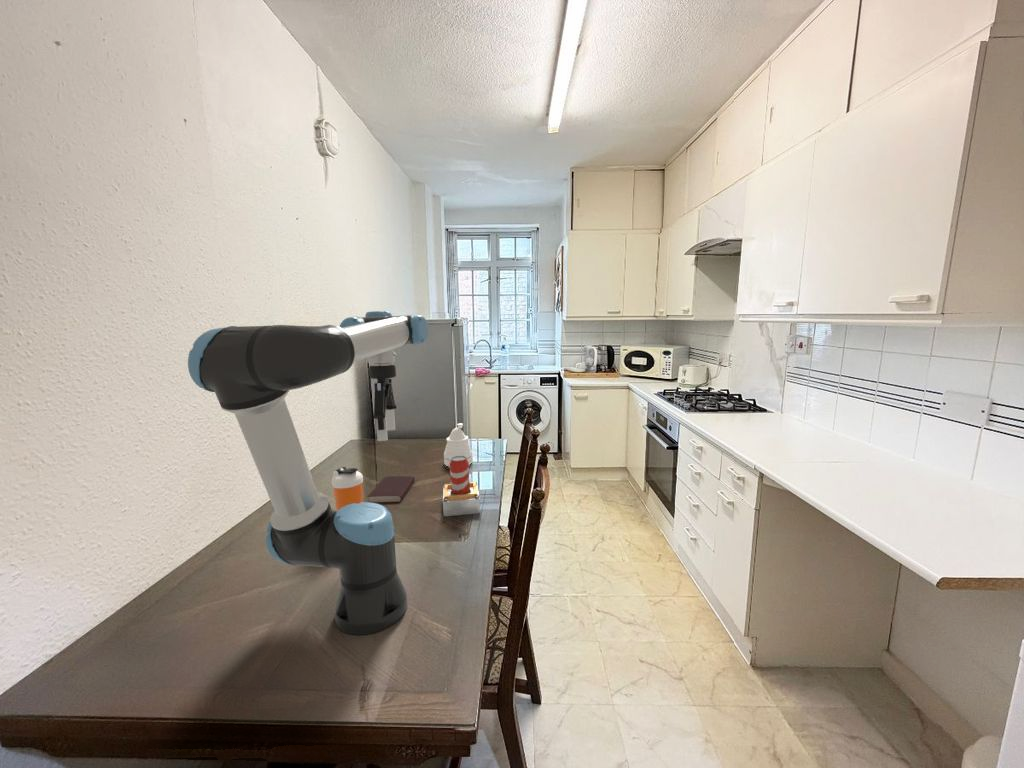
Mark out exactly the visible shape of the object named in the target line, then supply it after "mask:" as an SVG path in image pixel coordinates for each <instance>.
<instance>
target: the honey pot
mask: <svg viewBox="0 0 1024 768" xmlns="http://www.w3.org/2000/svg"><path fill="white" fill-rule="evenodd" d="M456 425H457V427H455V428H453V429H452V431H451V432H450V434H449V436H448V437H446V439H445V440H446V445H445V449H444V451H443V463H444V464H445V465H446V466H449V467H448V468H450V462H451V458H452V457H455V456H465V457H466V459H467V461H468V464H471V463H472V462H474V458H473V450H472V449H471V446H470V443H469V441H468V440H469V436H468V435H466V434H465V433H464V431H463V430H462V428H463V427H464V423H461V422H459V423H457V424H456ZM444 464H443V465H444ZM472 464H473V463H472ZM472 464H471V465H472ZM445 465H444V466H445ZM446 466H445V467H446Z"/></svg>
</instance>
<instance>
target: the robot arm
mask: <svg viewBox="0 0 1024 768" xmlns="http://www.w3.org/2000/svg"><path fill="white" fill-rule="evenodd" d="M428 337H429V325H428V321H427V319H426V317H424V316H423V315H422V314H421V315H420V314H419V315H418V314H410V315H409V314H407V315H393V314H392V313H391V312H390V311H387V310H386V311H383V310H378V311H377V310H376V311H375V310H374V311H371V310H370V311H367V312H366V313H365V316H364V317H363V316H350V317H346V318H344V319H343V320H342V321H341V322H340V324H339V325H338V326H337V325H334V324H325V325H319V326H318V325H317V326H314V325H313V326H312V325H309V326H308V325H292V324H291V325H290V324H273V325H254V326H253V325H251V326H250V325H249V326H248V325H247V326H242V325H241V326H236V325H235V326H234V325H229V326H226V327H218V328H213V329H210V330H206V331H205V332H203V333H201V334H200V335H199V336H198V337H197V338H195V340H194V342H193V344H192V348H191V349H190V350H189V352H188V358H187V370H188V373H189V376H190V378H191V380H192V381H193V382H194V384H195V385H196V386H198V387H199V388H200V389H203V390H205V391H207V392H211V393H214V394H215V396H216V398H217V401H218V403H219V405H220V408H221V409H222V410H224V411H225V412H229V413H231V414H234V415H235V418H236V421H237V423H238V425H239V427H240V430H241V433H242V436H243V437H244V440H245V441H246V445H247V446H248V447H247V448H248V449H249V452H250V454H251V456H252V458H253V461H254V464H255V466H256V469H257V471H258V474H259V476H260V478H261V481H262V483H263V485H264V488H265V490H266V493H267V496H268V498H269V499H270V502H271V505H272V507H273V509H274V511H273V512H272V513H271V516H270V521H269V523H268V526H267V528H266V533H267V536H265V545H266V549H267V552H268V553H269V555H270V556H271V557H272V559H274V560H275V561H277V562H278V563H279V562H280V563H284V564H287V565H290V566H304V567H305V566H306V567H320V568H327V569H328V568H330V569H338V571H339V576H340V577H339V578H340V579H339V580H340V589H339V591H338V595H337V600H336V603H335V608H334V617H335V619H334V620H335V624H336V627H337V628H338V629H339V630H340V631H342V632H343V633H346V634H349V635H353V636H354V635H356V636H361V635H363V636H364V635H369V634H374V633H377V632H380V631H383V630H385V629H387V628H389V627H390V626H393V625H394V624H395V623H397V622H398V621H399V620H400V619H401V618H403V616H404V614H405V612H406V610H407V609H408V594H407V590H406V588H405V586H404V584H403V582H402V579H401V577H400V576H399V573H398V568H397V556H396V542H395V540H396V539H395V531H396V530H395V526H394V522H393V521H394V520H393V517H392V516H393V515H392V514H391V512H390V510H389V509H388V508H386V507H385V506H384V505H382V504H379V503H377V502H368V501H363V502H360V503H359V504H356V503H353V504H349V505H346V506H344V507H342V508H340V509H339V510H338V511H337V510H333V509H332V507H331V504H330V501H329V499H328V496H327V495H326V494H323V493H321V492H318V490H317V488H316V485H315V482H314V479H313V476H312V473H311V470H310V467H309V464H308V462H307V459H306V457H305V454H304V450H303V447H302V445H301V442H300V439H299V437H298V433H297V431H296V428H295V426H294V422H293V420H292V417H291V414H290V411H289V409H288V405H287V403H286V400H285V398H286V396H288V394H289V393H290V391H292V390H298V389H302V388H305V387H308V386H312V385H314V384H317V383H320V382H322V381H323V382H324V381H326V380H328V379H332V378H333V377H337V376H339V375H341V374H344V373H346V372H347V371H349V370H350V369H351V367H352V366H353V365H354V364H356V363H359V362H361V361H364V360H367V361H368V364H369V367H368V371H369V373H368V374H369V378H370V379H373V380H375V379H376V380H377V381H376V383H374V385H373V386H374V401H373V402H374V404H373V407H374V408H373V415H372V419H373V420H375V423H376V436H377V439H376V440H377V442H382V441H383V442H385V441H388V439H389V437H388V431H396V421H395V420H396V419H395V418H396V417H395V410H397V405H396V403H395V397H394V391H393V384H392V383H393V382H392V381H393V380H392V379H393V378H395V377H397V367H396V365H395V364H394V363H396V356H397V352H395V349H397V348H401V347H403V346H407V345H414V346H415V345H419V344H421V345H422V344H424V343H426V341H427V339H428Z"/></svg>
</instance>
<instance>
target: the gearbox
mask: <svg viewBox="0 0 1024 768" xmlns="http://www.w3.org/2000/svg"><path fill="white" fill-rule="evenodd" d="M469 483H470V490H469V491H468V492H467V493H465V494H455V493H453V492H452V491H451V483H445V484H444V485H443V487H442V488H443V491H442V492H443V493H442V509H443V517H453V516H462V515H463V516H464V515H473V514H475V515H476V514H481V504H480V503H481V501H480V493H479V488H478V483H477V481H469Z"/></svg>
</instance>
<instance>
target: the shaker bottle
mask: <svg viewBox="0 0 1024 768" xmlns="http://www.w3.org/2000/svg"><path fill="white" fill-rule="evenodd" d="M358 470H359V468H356V467H347V466H342V467H340V468H338V469H335V470H333V474H332V475H333V477H332V479H331V487H332V491H333V497H334V502H335V511H338V510H339V509H340V508H342V507H344V506H346V505H349V504H353V503H356V504H359V503H360V502H364V489H363V485H364V484H363V482H364V477H363V476H364V475H363V473H361V472H360V471H358Z"/></svg>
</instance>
